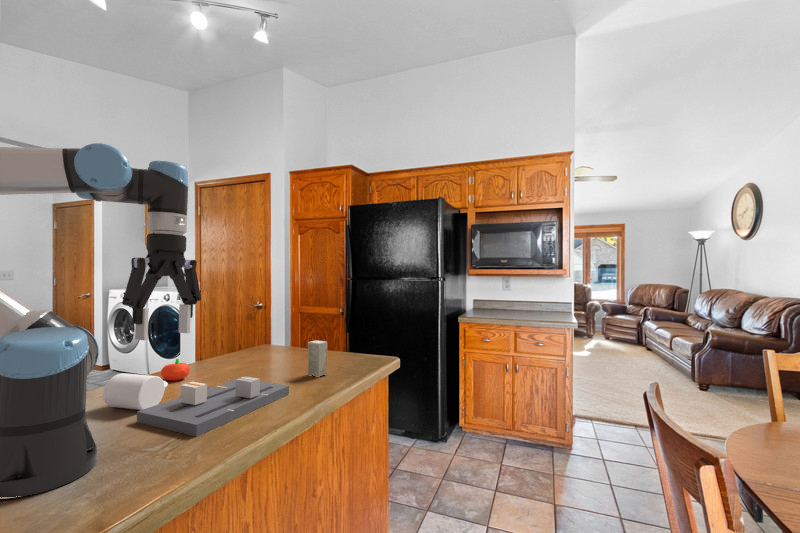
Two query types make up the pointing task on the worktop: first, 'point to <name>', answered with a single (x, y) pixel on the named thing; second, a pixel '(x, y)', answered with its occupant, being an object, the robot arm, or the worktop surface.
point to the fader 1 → (193, 393)
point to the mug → (134, 391)
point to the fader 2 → (247, 387)
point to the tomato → (175, 371)
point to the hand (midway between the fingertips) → (164, 336)
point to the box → (317, 358)
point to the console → (209, 408)
